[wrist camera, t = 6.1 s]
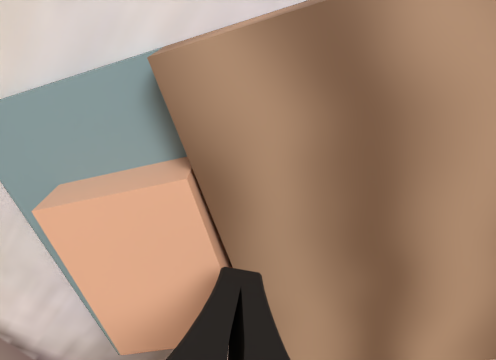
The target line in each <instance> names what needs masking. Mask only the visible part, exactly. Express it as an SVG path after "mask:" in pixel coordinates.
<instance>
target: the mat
mask: <svg viewBox="0 0 496 360" xmlns="http://www.w3.org/2000/svg"><path fill="white" fill-rule="evenodd" d="M162 48H163V47H162ZM160 49H161V48H159V49H156V50H153V51H149V52H146V53H143V54H140V55H137V56H134V57H131V58H128V59H125V60H121V61H118V62H115V63H112V64H109V65H106V66H103V67H100V68H97V69H93V70H90V71H87V72H84V73H81V74H78V75H75V76H72V77H69V78H66V79H62V80H59V81H56V82H53V83H50V84H47V85H44V86H41V87H38V88H34V89H31V90H28V91H25V92H22V93H19V94H16V95H13V96H10V97H6V98H3V99H0V181H1V183H2V184H3V186H4V187H5V189H6V190H7V192H8V193H9V194H10V196H11V197H12V199H13V200H14V202H15V203H16V205H17V206H18V208H19V209H20V211H21V212H22V214H23V215H24V216H25V218H26V219H27V221H28V222H29V224H30V225H31V227H32V228H33V230H34V231H35V233H36V234H37V236H38V237H39V239H40V240H41V241H42V243H43V244H44V246H45V247H46V249H47V250H48V252H49V253H50V255H51V256H52V258H53V259H54V261H55V262H56V263H57V265H58V266H59V268H60V269H61V271H62V272H63V274H64V275H65V277H66V278H67V280H68V281H69V283H70V284H71V286H72V287H73V288H74V290H75V291H76V293H77V294H78V296H79V297H80V299H81V300H82V302H83V303H84V305H85V306H86V308H87V309H88V310H89V312H90V313H91V315H92V316H93V318H94V319H95V321H96V322H97V324H98V325H99V327H100V328H101V330H102V331H103V333H104V334H105V335H106V337H107V338H108V340H109V341H110V343H111V344H112V346H113V347H114V349H115V350H116V352H117V353H118V355H120V353H119V352H118V350H117V349H116V347H115V345H114V344H113V342H112V341H111V339H110V337H109V336H108V334H107V333H106V331H105V329H104V328H103V326H102V324H101V323H100V321H99V320H98V318H97V316H96V315H95V313H94V312H93V310H92V308H91V307H90V305H89V304H88V302H87V300H86V299H85V297H84V296H83V294H82V292H81V291H80V289H79V287H78V286H77V284H76V283H75V281H74V279H73V278H72V276H71V275H70V273H69V271H68V270H67V268H66V267H65V265H64V263H63V262H62V260H61V258H60V257H59V255H58V254H57V252H56V250H55V249H54V247H53V246H52V244H51V242H50V241H49V239H48V238H47V236H46V234H45V233H44V231H43V229H42V228H41V226H40V225H39V223H38V221H37V220H36V218H35V217H34V215H33V213H32V212H31V211H32V210H33V209H34V208H35V207H36V206H37V205H38V204H39V203H40V202H42V201H43V200H44V199H45V198H46V197H47V196H48V195H49V194H50V193H51V192H52V191H53V190H54V189H55V188H56V187H57V186H58V185H60V184H64V183H69V182H73V181H78V180H82V179H87V178H91V177H96V176H101V175H105V174H110V173H114V172H119V171H123V170H128V169H132V168H137V167H142V166H146V165H151V164H155V163H160V162H164V161H169V160H173V159H178V158H183V157H187V154H186V152H185V149H184V147H183V144H182V142H181V139H180V137H179V135H178V132H177V130H176V127H175V125H174V122H173V120H172V117H171V115H170V112H169V110H168V108H167V105H166V103H165V100H164V98H163V95H162V93H161V90H160V88H159V86H158V83H157V81H156V78H155V76H154V73H153V71H152V68H151V66H150V64H149V61H148V59H147V57H149V56H150V55H152V54H153V53H155V52H157V51H158V50H160Z"/></svg>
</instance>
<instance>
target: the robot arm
mask: <svg viewBox="0 0 496 360" xmlns="http://www.w3.org/2000/svg"><path fill="white" fill-rule="evenodd" d="M228 345H229V349H228ZM227 355H228V360H290V358H289V356H288V353H287V351H286V349H285V347H284V344H283V342H282V340H281V337H280V335H279V332H278V330H277V327H276V324H275V321H274V319H273V316H272V313H271V310H270V307H269V304H268V300H267V297H266V293H265V289H264V285H263V280H262V275H261V274H260V273H259V272H253V271H247V270H242V269H236V268H230V267H223V268H221V270H220V274H219V277H218V279H217V282H216V284H215V286H214V288H213V290H212V293H211V295H210V296H209V298H208V300H207V302H206V303H205V305H204V307H203V309H202V310H201V312H200V314H199V315H198V317H197V318H196V320H195V321H194V323H193V324H192V326H191V327H190V329H189V330H188V332H187V333H186V335H185V336H184V337H183V339H182V340H181V341H180V343H179V344H178V345H177V347H176V348H175V349H174V350H173V352H172V353H171V354H170V355H169V357H168V358H167V359H166V360H227Z"/></svg>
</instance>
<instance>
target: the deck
mask: <svg viewBox="0 0 496 360" xmlns="http://www.w3.org/2000/svg"><path fill="white" fill-rule="evenodd" d="M147 59H148V61H149V64H150V66H151V68H152V71H153V73H154V76H155V78H156V81H157V83H158V86H159V88H160V90H161V93H162V95H163V98H164V100H165V103H166V105H167V108H168V110H169V112H170V115H171V117H172V120H173V122H174V125H175V127H176V130H177V132H178V135H179V137H180V139H181V142H182V144H183V147H184V149H185V152H186V154H187V157H188V159H189V161H190V164H191V166H192V169H193V171H194V174H195V176H196V179H197V181H198V183H199V186H200V188H201V191H202V193H203V196H204V198H205V201H206V203H207V205H208V208H209V210H210V213H211V215H212V218H213V220H214V223H215V225H216V227H217V230H218V232H219V235H220V237H221V240H222V242H223V245H224V247H225V249H226V252H227V254H228V257H229V259H230V262H231V264H232V267H233V268H236V269H242V270H247V271H253V272H259V273H260V274H261V275H262V280H263V285H264V289H265V293H266V297H267V300H268V304H269V307H270V310H271V313H272V316H273V319H274V321H275V324H276V327H277V330H278V332H279V335H280V337H281V340H282V342H283V344H284V347H285V349H286V351H287V353H288V356H289V358H290V360H491V359H496V0H308V1H305V2H302V3H299V4H295V5H292V6H289V7H286V8H283V9H280V10H277V11H274V12H271V13H267V14H264V15H261V16H258V17H255V18H252V19H249V20H246V21H243V22H240V23H236V24H233V25H230V26H227V27H224V28H221V29H218V30H215V31H212V32H208V33H205V34H202V35H199V36H196V37H193V38H190V39H187V40H184V41H180V42H177V43H174V44H171V45H168V46H165V47H163V48H161V49H160V50H158V51H157V52H155V53H153V54H152V55H150V56H149V57H147Z"/></svg>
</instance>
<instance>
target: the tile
mask: <svg viewBox="0 0 496 360" xmlns="http://www.w3.org/2000/svg"><path fill="white" fill-rule="evenodd" d="M31 212H32V213H33V215H34V217H35V218H36V220H37V221H38V223H39V225H40V226H41V228H42V229H43V231H44V233H45V234H46V236H47V238H48V239H49V241H50V242H51V244H52V246H53V247H54V249H55V250H56V252H57V254H58V255H59V257H60V258H61V260H62V262H63V263H64V265H65V267H66V268H67V270H68V271H69V273H70V275H71V276H72V278H73V279H74V281H75V283H76V284H77V286H78V287H79V289H80V291H81V292H82V294H83V296H84V297H85V299H86V300H87V302H88V304H89V305H90V307H91V308H92V310H93V312H94V313H95V315H96V316H97V318H98V320H99V321H100V323H101V324H102V326H103V328H104V329H105V331H106V333H107V334H108V336H109V337H110V339H111V341H112V342H113V344H114V345H115V347H116V349H117V350H118V352H119V353H120V355H127V354H135V353H143V352H150V351H158V350H166V349H174V348H176V347H177V345H178V344H179V343H180V341H181V340H182V339H183V337H184V336H185V335H186V333H187V332H188V330H189V329H190V327H191V326H192V324H193V323H194V321H195V320H196V318H197V317H198V315H199V314H200V312H201V310H202V309H203V307H204V305H205V303H206V302H207V300H208V298H209V296H210V295H211V293H212V290H213V288H214V286H215V284H216V282H217V279H218V277H219V274H220V270H221V268H223V267H230V268H233V267H232V264H231V262H230V259H229V257H228V254H227V252H226V249H225V247H224V245H223V242H222V240H221V237H220V235H219V232H218V230H217V227H216V225H215V223H214V220H213V218H212V215H211V213H210V210H209V208H208V205H207V203H206V201H205V198H204V196H203V193H202V191H201V188H200V186H199V183H198V181H197V179H196V176H195V174H194V171H193V169H192V166H191V164H190V161H189V159H188V157H183V158H178V159H173V160H169V161H164V162H160V163H155V164H151V165H146V166H142V167H137V168H132V169H128V170H123V171H119V172H114V173H110V174H105V175H101V176H96V177H91V178H87V179H82V180H78V181H73V182H69V183H64V184H60V185H58V186H57V187H56V188H55V189H54V190H53V191H52V192H51V193H50V194H49V195H48V196H47V197H46V198H45V199H44V200H43V201H42V202H40V203H39V204H38V205H37V206H36V207H35V208H34V209H33V210H32V211H31Z"/></svg>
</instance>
